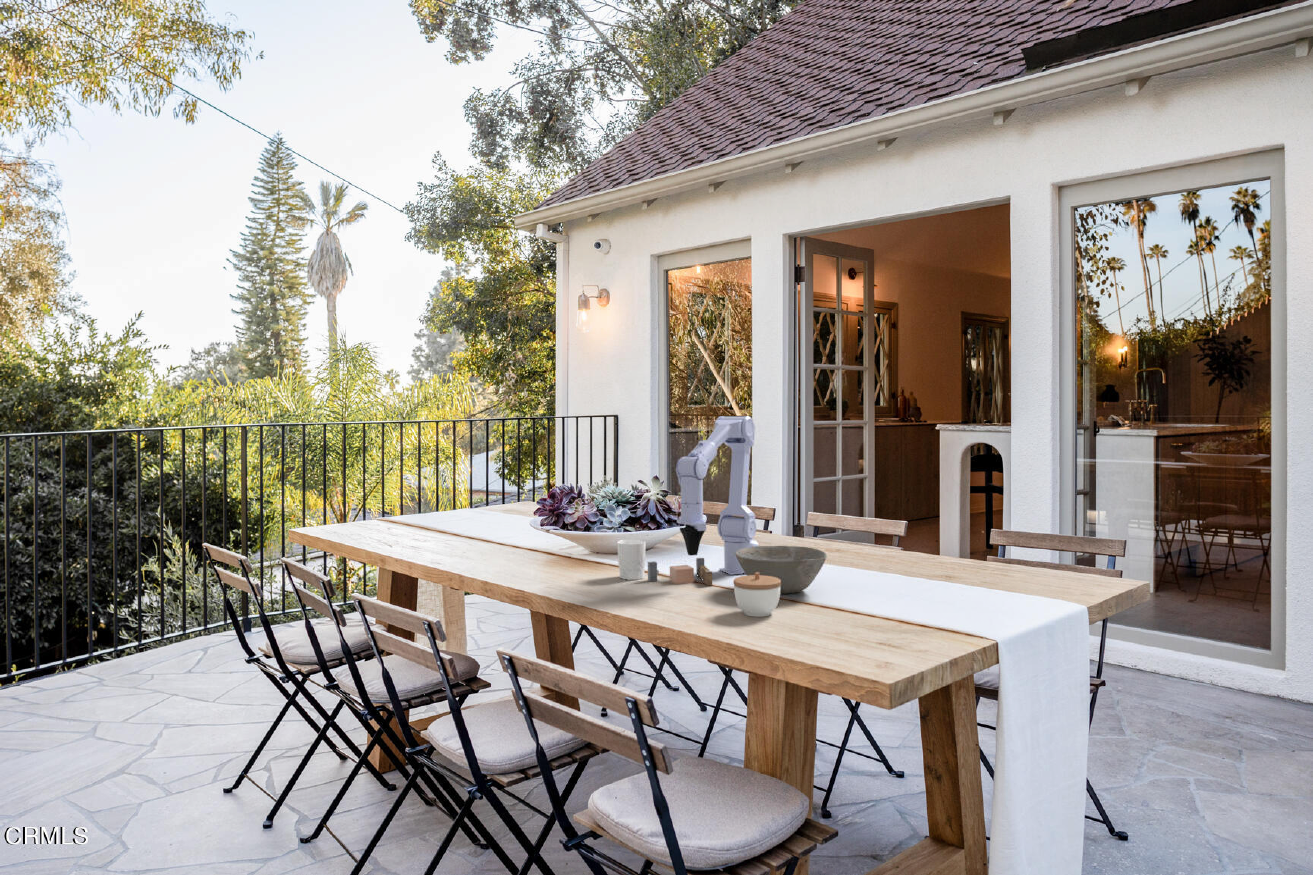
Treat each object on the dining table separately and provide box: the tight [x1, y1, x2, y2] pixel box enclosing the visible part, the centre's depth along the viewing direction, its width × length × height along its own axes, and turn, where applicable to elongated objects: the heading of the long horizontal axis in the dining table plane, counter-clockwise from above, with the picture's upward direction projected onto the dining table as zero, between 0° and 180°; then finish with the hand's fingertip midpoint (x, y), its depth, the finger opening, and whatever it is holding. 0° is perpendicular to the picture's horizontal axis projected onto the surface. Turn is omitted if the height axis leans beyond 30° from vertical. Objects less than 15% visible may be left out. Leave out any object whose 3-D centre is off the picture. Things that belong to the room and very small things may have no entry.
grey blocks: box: [647, 557, 705, 582], centre depth 234 cm, size 16×2×5 cm, turn 109°
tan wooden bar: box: [699, 564, 713, 587], centre depth 229 cm, size 10×1×4 cm, turn 9°
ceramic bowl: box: [735, 545, 827, 595], centre depth 217 cm, size 22×23×10 cm
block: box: [669, 564, 695, 585], centre depth 231 cm, size 5×5×4 cm
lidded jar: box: [733, 572, 781, 618], centre depth 195 cm, size 11×11×9 cm
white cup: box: [616, 539, 647, 581], centre depth 236 cm, size 8×8×10 cm
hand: (692, 554), depth 222 cm, fingers closed
